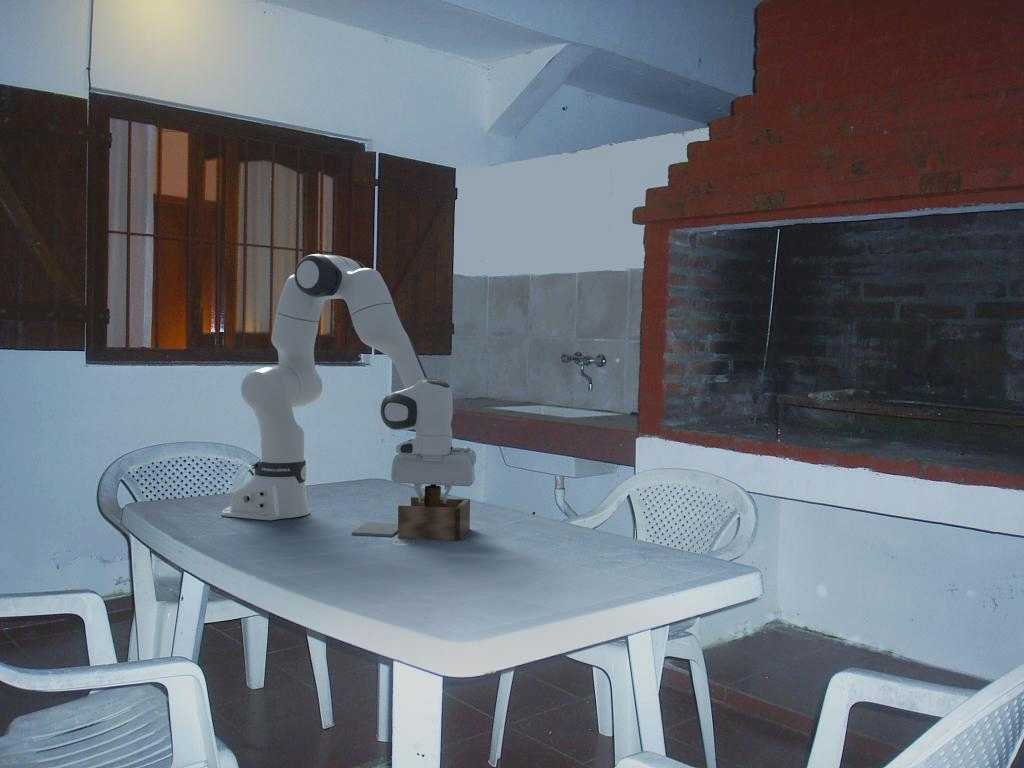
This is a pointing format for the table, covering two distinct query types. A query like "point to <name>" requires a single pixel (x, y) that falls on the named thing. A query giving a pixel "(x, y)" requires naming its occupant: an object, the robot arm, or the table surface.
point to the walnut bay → (434, 520)
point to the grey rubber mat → (377, 529)
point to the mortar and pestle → (432, 496)
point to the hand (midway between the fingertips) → (432, 502)
